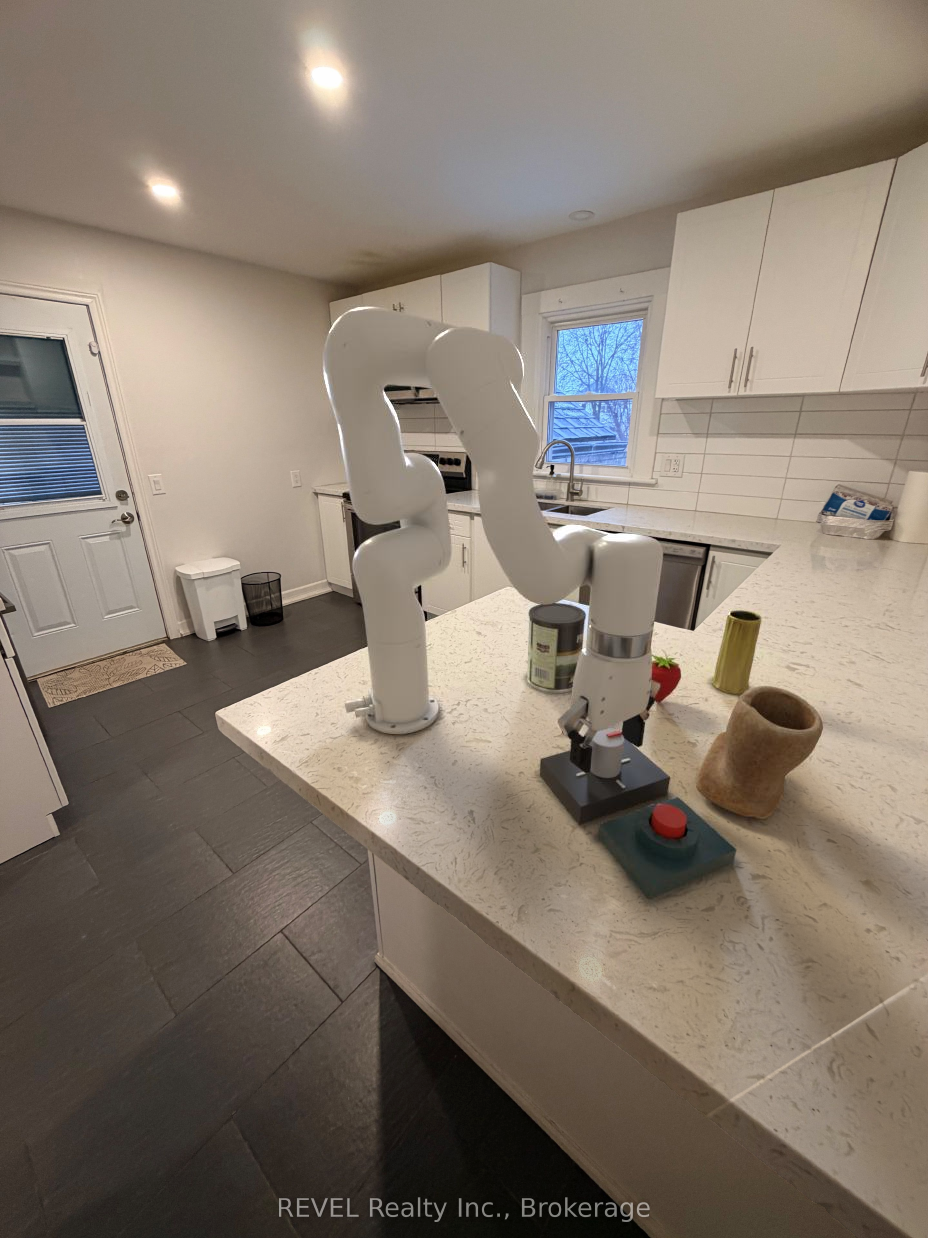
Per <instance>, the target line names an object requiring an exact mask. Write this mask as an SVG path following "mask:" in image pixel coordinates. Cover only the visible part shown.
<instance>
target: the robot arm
mask: <svg viewBox="0 0 928 1238" xmlns="http://www.w3.org/2000/svg"><path fill="white" fill-rule="evenodd" d="M323 347H324V348H323V353H322V370H323V371H322V372H323V378H324V383H325V388H326V391H327V395H328V398H329V402H330V405H331V407H332V411H333V414H334V418H335V421H336V426H337V429H338V434H339V441H340V448H341V454H342V459H343V465H344V470H345V476H346V482H347V488H348V492H349V497H350V503H351V505H352V508H353V510H354V512H355V514H356V516H357V518H359V520H361V521H362V522H363V523H366V524H369V525H375V526H379V525H384V524H390V523H394V522H399V525H400V527H399V528H395V529H391V530H388V531H385V532H382V533H378V534H376V535H373V536H371V537H370V538H368V539H366V540H364V541H363V542H362V543H361V544H360V545H359V546H358V547H357V548H356V550H355V552H354V555H353V558H352V568H351V569H352V573H353V577H354V581H355V584H356V587H357V590H358V594H359V597H360V601H361V605H362V611H363V618H364V619H363V620H364V626H365V636H366V645H367V652H368V662H369V671H370V680H371V681H370V682H371V688H368V689H367V691H368V693H367V694H366V695H364V696H362V698H358V699H351V700H347V701H344V707H345V711H346V714H348V713H353V712H354V714H355V715H354V716H355V718H356V719H357V718H360V717H361V718H362V717H365V721H366V723H367V725H369V726H370V728H372V729H373V730H375V731H378V732H381V733H384V734H390V735H405V734H411V733H415V732H418V731H421V730H424V729H425V728H427V727H429V726H430V725H431V724H432V723H435V721H436V720H437V718H438V717H439V712H440V707H439V706H440V705H439V702H438V700H437V699H436V698H435V697H434V696H433V695H431V694H430V687H429V668H428V648H427V647H428V646H427V629H426V618H425V613H424V609H423V607H422V605H421V603H420V602H419V600H418V598H417V595H416V591H415V590H416V588H418V587H420V586H421V585H423V584H426V583H428V582H429V581H432V580H435V579H436V578H437V577H439V576H440V575H442V574H443V573H444V572H445V571H446V570H447V569H448V567H449V566H450V562H451V560H452V554H453V553H452V552H453V551H452V550H453V549H452V548H453V547H452V545H453V543H452V534H451V526H450V517H449V511H448V510H449V509H448V508H449V507H448V501H447V491H446V487H445V481H444V479H443V478H444V477H443V476H442V473H441V472H440V470H439V468H438V466H437V465H436V464H435V462H434V461H432V459H430V458H429V457H428V456H426V455H424V454H421V453H416V452H405V451H404V447H403V441H402V432H401V425H400V421H399V418H398V415H397V413H396V410H395V408H394V406H393V404H392V403H391V401H390V400H389V397H388V396H387V395H386V393H385V388H386V387H387V386H399V387H417V388H425V389H430V390H433V393H434V394H435V396H436V399H437V400H438V402H439V404H440V406H441V408H442V410H443V412H444V413H445V416H447V419H448V421H449V422H450V424H451V427H452V428H453V430H454V432H455V433H456V436H457V437H458V439H459V441H460V443H461V446H462V447H463V449H464V451H465V452H466V454H467V456H468V458H469V460H470V462H471V464H472V466H473V468H474V470H475V473H476V476H477V495H478V496H477V497H478V504H479V512H480V517H481V518H480V519H481V523H482V528H483V531H484V535H485V537H486V540H487V542H488V544H489V547H490V548H491V551H492V552H493V554H494V556H495V559H496V560H497V562H498V564H499V565H500V568H501V569H502V571H503V573H504V574H505V576H506V578H507V579H508V581H509V582H510V584H511V586H512V587H513V588H514V589H515V590H516V591H517V593H518V594H520V596H522V597H523V598H524V599H526V601H527V600H528V601H529V602H531V603H534V604H537V605H540V604H542V605H547V604H553V603H560V601H563V600H564V599H566V598H567V597H568V596H570V595H571V594H572V593H574V592H575V590H577V589H578V588H581V587H584V586H589V587H590V592H589V605H588V618H587V629H586V630H587V631H586V640H585V641H586V645H585V647H582V650H581V653H580V656H579V659H578V663H577V666H576V671H575V675H574V681H573V687H572V691H571V694H570V704H569V708H568V709H567V710H566V711H565V712H563V714H562V715H561V716H560V717H559V718H558V719H557V725H558V727H559V729H560V730H561V734H562V735H564V736H565V737H567V739H568V740H570V749H569V751H570V761H571V762H572V763H573V764H574V765H576V766H577V767H578V768H579V769H581V770H582V771H583V772H584V773H588V772H590V770H591V760H592V746H591V745H589V744H590V742H591V741H592V739H593V738H594V736H595V734H596V733H597V731H601V730H605V729H607V728H612V727H614V726H616V725H618V724H621V723H622V724H621V725H622V727H621V732H622V735H623V737H624V739H626V740H627V741H629V742H630V743H631V744H633V745H634V746H635V747H636V748H640V747H642V746H643V742H644V736H645V729H646V721H647V720H648V719H649V718H650V710H651V708H652V707H653V705H654V704H655V703H656V701H655V698H654V697H656V694H657V692H658V690H659V688H660V683H658V682H656V681H654V680H651V677H652V661H653V656H652V655H653V653H652V642H653V633H654V627H655V619H656V611H657V603H658V596H659V589H660V582H661V574H662V569H663V568H662V567H663V566H662V565H663V561H664V549H663V546H662V544H661V543H660V542H659V540H657V539H656V538H653V537H651V536H648V535H644V534H637V533H611V532H610V533H609V532H606V531H602V530H598V529H595V528H591V527H588V526H584V525H577V524H576V525H575V524H567V525H563V526H560V527H556V528H555V529H553V530H552V529H551V528H550V526H549V524H548V522H547V520H546V518H545V516H544V514H543V512H542V510H541V508H540V505H539V502H538V498H537V496H536V492H535V486H534V468H535V464H536V460H537V456H538V454H539V450H540V446H541V438H540V434H539V432H538V430H537V428H536V425H535V424H534V423H533V420H532V419H531V417H530V415H529V413H528V412H527V409H526V408H525V406H524V404H523V402H522V400H521V398H520V397H519V395H518V393H519V391H520V388H521V386H522V384H523V380H524V371H525V370H524V362H523V358H522V356H521V354H520V351H519V349H518V348H517V346H516V345H515V344H514V343H513V342H512V341H511V340H510V339H509V338H507V337H506V336H504V335H502V334H499V333H496V332H491V331H488V330H484V329H480V328H476V327H471V326H457V325H454V324H453V325H452V324H448V323H445V322H441V321H438V320H433V319H429V318H425V317H421V316H417V315H413V314H409V313H405V312H402V311H397V310H393V309H389V308H385V307H377V306H362V307H360V306H359V307H356V308H352V309H350V310H348V311H345V312H344V313H343V314H342V315H340V316H339V317H338V318H337V319H336V321H335V322H334V323H333V324H332V326H331V328H330V330H329V331H328V334H327V336H326V339H325V343H324V346H323ZM587 718H588V719H587ZM584 725H585V726H586V727H587V730H586V731H585V733H584V735H582V734H580V731H581V730H582V728H583V726H584Z"/></svg>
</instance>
